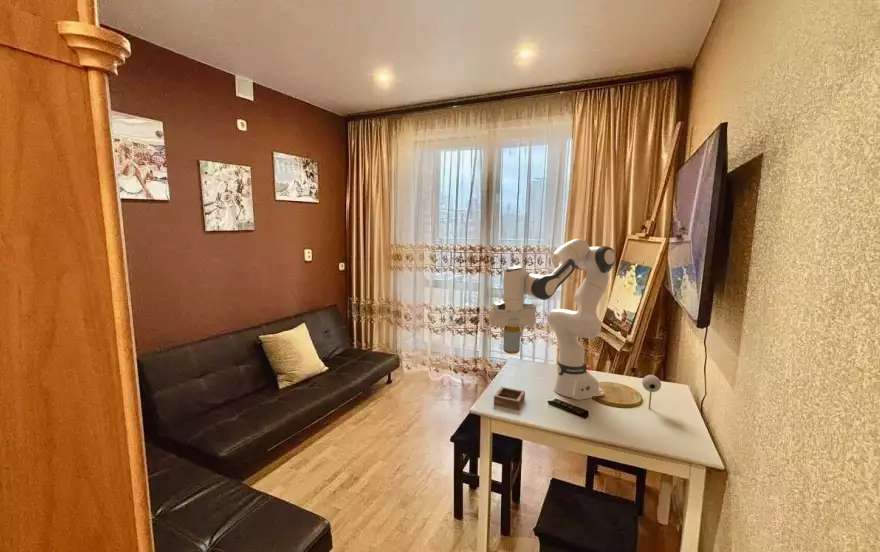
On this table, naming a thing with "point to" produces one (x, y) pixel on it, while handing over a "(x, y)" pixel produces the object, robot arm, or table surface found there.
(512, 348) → the bottle
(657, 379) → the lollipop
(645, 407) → the table surface
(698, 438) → the table surface
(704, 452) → the table surface
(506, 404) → the pocket
